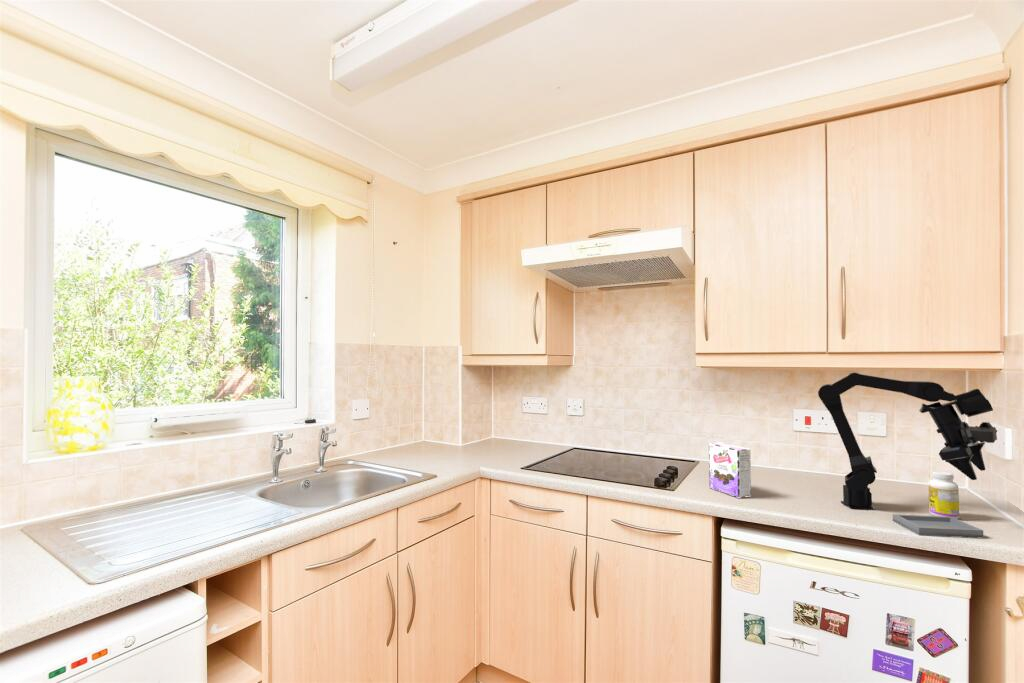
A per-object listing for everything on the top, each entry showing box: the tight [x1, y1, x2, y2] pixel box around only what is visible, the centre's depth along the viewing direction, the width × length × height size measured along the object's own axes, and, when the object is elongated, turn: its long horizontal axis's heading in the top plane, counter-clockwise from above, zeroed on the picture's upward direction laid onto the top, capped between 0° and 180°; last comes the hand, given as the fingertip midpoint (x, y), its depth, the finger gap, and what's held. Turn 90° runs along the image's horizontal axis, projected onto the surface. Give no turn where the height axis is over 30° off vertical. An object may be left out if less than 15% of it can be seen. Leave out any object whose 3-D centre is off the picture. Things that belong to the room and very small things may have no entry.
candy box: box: [708, 441, 752, 498], centre depth 167 cm, size 14×6×16 cm, turn 20°
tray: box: [892, 513, 984, 539], centre depth 131 cm, size 15×11×2 cm
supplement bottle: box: [927, 470, 961, 520], centre depth 141 cm, size 7×7×13 cm
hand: (979, 474), depth 135 cm, fingers open, 9 cm apart
